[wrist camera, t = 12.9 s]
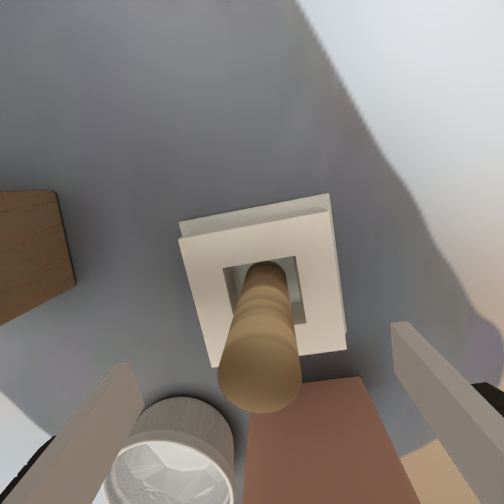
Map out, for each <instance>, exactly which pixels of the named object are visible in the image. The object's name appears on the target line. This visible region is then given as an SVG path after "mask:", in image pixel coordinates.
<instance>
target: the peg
mask: <svg viewBox="0 0 504 504" xmlns="http://www.w3.org/2000/svg"><path fill="white" fill-rule="evenodd" d="M217 378H218V383H219V386H220V389H221V391H222V393H223V394H224V396H225V397H226V398H227V399H228V400H229V401H230V402H231V403H232V404H234V405H235V406H237V407H238V408H240V409H242V410H245V411H248V412H252V413H261V414H262V413H272V412H275V411H278V410H281V409H283V408H285V407H286V406H288V405H289V404H290V403H291V402H292V401H293V400H294V399H295V398H296V396H297V395H298V393H299V391H300V388H301V384H302V372H301V366H300V360H299V353H298V347H297V341H296V335H295V329H294V322H293V316H292V310H291V304H290V297H289V291H288V285H287V279H286V274H285V272H284V270H283V268H282V267H281V266H280V265H279V264H277V263H275V262H273V261H269V260H267V261H261V262H256V263H254V264H253V265H251V266H250V268H249V269H248V270H247V273H246V276H245V279H244V282H243V286H242V289H241V292H240V296H239V299H238V303H237V306H236V309H235V313H234V316H233V319H232V323H231V326H230V330H229V333H228V336H227V340H226V343H225V346H224V350H223V353H222V356H221V360H220V363H219V367H218V373H217Z"/></svg>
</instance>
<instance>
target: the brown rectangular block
mask: <svg viewBox="0 0 504 504" xmlns="http://www.w3.org/2000/svg"><path fill="white" fill-rule="evenodd" d="M243 504H421V503H420V501H419V499H418V497H417V495H416V493H415V491H414V489H413V486H412V484H411V482H410V480H409V478H408V476H407V474H406V472H405V470H404V467H403V466H402V463H401V461H400V459H399V457H398V455H397V453H396V451H395V448H394V446H393V444H392V442H391V440H390V438H389V436H388V434H387V432H386V430H385V427H384V425H383V423H382V421H381V419H380V417H379V415H378V413H377V411H376V408H375V406H374V404H373V402H372V400H371V398H370V396H369V394H368V392H367V389H366V387H365V385H364V383H363V381H362V379H361V377H360V376H356V377H348V378H340V379H332V380H324V381H316V382H308V383H302V384H301V388H300V391H299V393H298V395H297V396H296V398H295V399H294V400H293V401H292V402H291V403H290V404H289V405H288V406H286V407H285V408H283V409H281V410H278V411H275V412H272V413H262V414H261V413H252V412H250V417H249V430H248V442H247V455H246V467H245V480H244V492H243Z"/></svg>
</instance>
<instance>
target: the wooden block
mask: <svg viewBox="0 0 504 504" xmlns="http://www.w3.org/2000/svg"><path fill="white" fill-rule="evenodd" d="M74 285H75V280H74V275H73V271H72V266H71V262H70V257H69V253H68V248H67V243H66V239H65V234H64V230H63V225H62V220H61V216H60V211H59V207H58V202H57V198H56V194H55V193H54V192H52V191H49V190H39V191H10V192H0V326H1V325H3V324H5V323H6V322H8V321H10V320H12V319H14V318H16V317H18V316H20V315H21V314H23V313H25V312H27V311H29V310H31V309H33V308H35V307H36V306H38V305H40V304H42V303H44V302H46V301H48V300H50V299H51V298H53V297H55V296H57V295H59V294H61V293H63V292H65V291H66V290H68V289H70V288H72V287H74Z"/></svg>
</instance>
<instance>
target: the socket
mask: <svg viewBox="0 0 504 504" xmlns="http://www.w3.org/2000/svg"><path fill="white" fill-rule="evenodd" d="M179 226H180V230H181V234H182V237H181V238H179V239H178V242H179V246H180V250H181V254H182V257H183V261H184V265H185V269H186V272H187V276H188V280H189V284H190V288H191V291H192V295H193V299H194V303H195V306H196V310H197V314H198V318H199V321H200V325H201V329H202V333H203V337H204V340H205V344H206V348H207V352H208V355H209V359H210V363H211V367H212V368H213V367H219V363H220V360H221V356H222V353H223V350H224V346H225V343H226V340H227V336H228V333H229V330H230V326H231V323H232V319H233V316H234V313H235V309H236V306H237V303H238V299H239V296H240V292H241V289H242V286H243V282H244V279H245V276H246V273H247V270H248V269H249V268H250V266H251V265H253V264H254V263H256V262H261V261H267V260H269V261H273V262H275V263H277V264H279V265H280V266H281V267H282V268H283V270H284V272H285V274H286V279H287V285H288V291H289V297H290V304H291V310H292V316H293V322H294V329H295V335H296V341H297V347H298V353H299V356H302V355H309V354H317V353H324V352H332V351H339V350H346V349H347V347H346V339H345V333H347V329H346V321H345V313H344V306H343V298H342V290H341V282H340V274H339V266H338V259H337V251H336V243H335V235H334V227H333V219H332V212H331V204H330V196H329V193H323V194H318V195H312V196H307V197H302V198H297V199H292V200H287V201H282V202H276V203H271V204H266V205H261V206H256V207H251V208H246V209H240V210H235V211H230V212H225V213H220V214H215V215H210V216H204V217H199V218H194V219H189V220H184V221H180V222H179Z"/></svg>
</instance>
